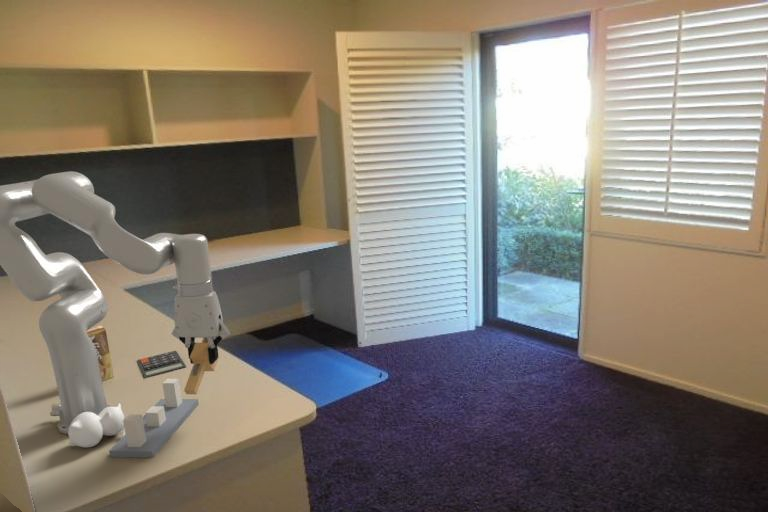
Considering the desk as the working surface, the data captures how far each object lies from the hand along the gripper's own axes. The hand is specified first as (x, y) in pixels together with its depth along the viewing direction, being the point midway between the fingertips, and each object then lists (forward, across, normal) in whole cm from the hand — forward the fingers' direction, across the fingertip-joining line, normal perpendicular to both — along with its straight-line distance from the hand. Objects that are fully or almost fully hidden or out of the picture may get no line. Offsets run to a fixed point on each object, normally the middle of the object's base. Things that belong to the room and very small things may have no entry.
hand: (204, 360), depth 132 cm
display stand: (+15, -11, -5) cm, 20 cm away
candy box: (+16, -43, +20) cm, 50 cm away
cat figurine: (+16, -22, -11) cm, 29 cm away
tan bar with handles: (+2, 0, +2) cm, 3 cm away
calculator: (+16, -29, +31) cm, 46 cm away
